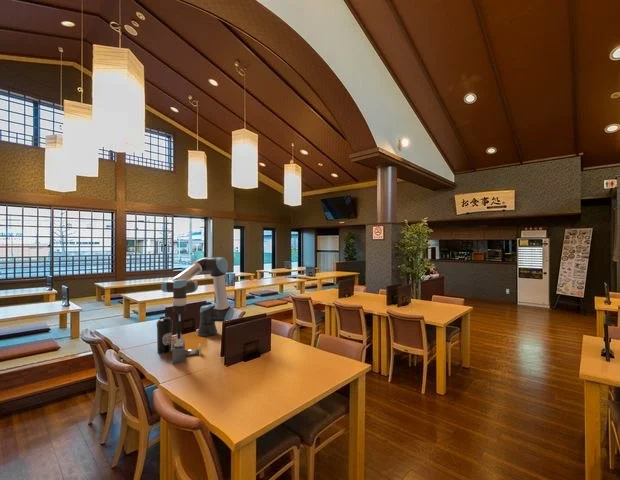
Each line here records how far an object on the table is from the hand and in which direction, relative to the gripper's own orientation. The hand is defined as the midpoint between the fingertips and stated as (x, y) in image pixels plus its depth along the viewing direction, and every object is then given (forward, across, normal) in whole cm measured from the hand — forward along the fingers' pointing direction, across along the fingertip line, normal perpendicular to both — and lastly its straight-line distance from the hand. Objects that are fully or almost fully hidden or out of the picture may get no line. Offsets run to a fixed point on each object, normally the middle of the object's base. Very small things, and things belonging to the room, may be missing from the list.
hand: (178, 343), depth 187 cm
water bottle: (+12, -26, -8) cm, 30 cm away
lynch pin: (+12, -12, +8) cm, 18 cm away
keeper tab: (+2, -5, 0) cm, 5 cm away
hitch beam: (+12, -11, 0) cm, 16 cm away
